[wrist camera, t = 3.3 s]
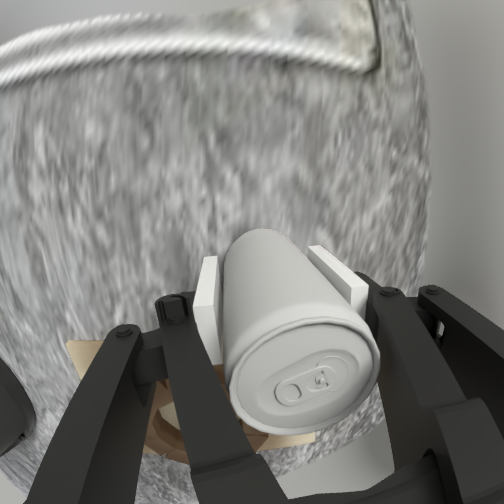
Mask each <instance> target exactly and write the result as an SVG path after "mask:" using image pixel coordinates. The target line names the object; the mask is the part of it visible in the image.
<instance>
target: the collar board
mask: <svg viewBox="0 0 504 504" xmlns="http://www.w3.org/2000/svg"><path fill="white" fill-rule="evenodd" d="M103 342H104V341H79V340H68V342H67V343H66V347H67V349H68V352H69V354H70V356H71V359H72V361H73V363H74V366H75V368H76V370H77V373H78V375H79V377H80V379H81V380H82V379H83V377H84V375H85V373H86V371H87V369H88V368H89V366H90V364H91V362H92V361H93V359H94V357H95V355H96V354H97V352H98V350H99V348H100V347H101V345H102V343H103ZM213 367H214V370H215V372H216V374H217V376H218V378H219V381H220V383H221V385H222V387H223V389H224V392H225V394H226V396H227V398H228V400H229V402H230V397H229V394H228V392H227V389H226V387H225V380H224V369H223V364H218V365H213ZM156 384H157V386H156V390H155V394H154V399H153V403H152V408H151V413H150V417H149V422H148V427H147V432H146V437H145V442H144V448H143V453H144V454H159V455H160V456H161V455H166V458H168V459H171V460H175V461H178V462H182V463H186V464H189V460H188V457H187V453H186V449H185V446H184V442H183V438H182V435H181V431H180V427H179V423H178V418H177V414H176V410H175V406H174V401H173V397H172V392H171V387H170V382H169V378H168V379H164V380H160V381H156ZM230 404H231V402H230ZM231 406H232V404H231ZM232 409H233V411H234V413H235V415H236V417H237V419H238V421H239V423H240V425H241V427H242V429H243V431H244V433H245V435H246V437H247V439H248V441H249V443H250V444H251V446H252V448H253V450H254V452H257V451H262V450H270V449H277V448H283V447H290V446H295V445H301V444H306V443H311V442H315V432H313V433H309V434H302V435H295V436H284V435H274V434H269V433H265V432H261V431H259V430H257V429H255V428H253V427H251V426H249V425H247V424H246V423H245V422H244V421H243V420H242V419H241V418H240V417H239V416H238V415H237V414H236V412H235V410H234V408H233V406H232ZM189 465H190V464H189Z"/></svg>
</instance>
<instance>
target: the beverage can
mask: <svg viewBox="0 0 504 504" xmlns="http://www.w3.org/2000/svg"><path fill="white" fill-rule="evenodd" d="M223 369H224V380H225V387H226V389H227V392H228V394H229V397H230V402H231V404H232V406H233V408H234V410H235V412H236V414H237V415H238V416H239V417H240V418H241V419H242V420H243V421H244V422H245V423H246V424H247V425H249V426H251V427H253V428H255V429H257V430H259V431H261V432H265V433H269V434H274V435H284V436H295V435H302V434H309V433H313V432H316V431H319V430H322V429H325V428H328V427H330V426H332V425H334V424H336V423H338V422H340V421H342V420H343V419H345V418H346V417H347V416H349V415H350V414H351V413H353V412H354V411H355V410H357V409H358V408H359V407H360V405H361V404H362V403H363V402H364V401H365V400H366V399H367V398H368V396H369V395H370V393H371V391H372V390H373V388H374V386H375V384H376V382H377V379H378V375H379V372H380V352H379V350H378V347H377V345H376V342H375V340H374V338H373V336H372V334H371V331H370V329H369V327H368V325H367V324H366V322H365V321H364V320H363V319H362V318H361V317H360V316H359V314H358V313H357V312H356V311H355V310H354V309H353V308H352V307H351V305H350V304H349V303H348V302H347V301H346V300H345V299H344V298H343V297H342V295H341V294H340V293H339V292H338V291H337V290H336V289H335V288H334V287H333V286H332V284H331V283H330V282H329V281H328V280H327V279H326V278H325V277H324V276H323V275H322V274H321V273H320V271H319V270H318V269H317V268H316V267H315V266H314V265H313V264H312V263H311V262H310V261H309V260H308V259H307V257H306V256H305V255H304V254H303V253H302V252H301V251H300V250H299V249H298V248H297V247H296V246H295V245H294V244H293V243H292V242H291V241H290V240H289V239H288V238H287V237H286V236H285V235H283V234H282V233H280V232H278V231H275V230H271V229H255V230H251V231H248V232H246V233H245V234H243V235H242V236H240V237H239V238H238V239H237V240H236V241H235V242H234V243H233V245H232V246H231V247H230V249H229V251H228V252H227V254H226V257H225V261H224V295H223Z"/></svg>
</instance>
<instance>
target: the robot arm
mask: <svg viewBox="0 0 504 504" xmlns="http://www.w3.org/2000/svg"><path fill="white" fill-rule="evenodd" d="M308 260H309V261H310V262H311V263H312V264H313V265H314V266H315V267H316V268H317V269H318V270H319V271H320V273H321V274H322V275H323V276H324V277H325V278H326V279H327V280H328V281H329V282H330V283H331V284H332V286H333V287H334V288H335V289H336V290H337V291H338V292H339V293H340V294H341V295H342V297H343V298H344V299H345V300H346V301H347V302H348V303H349V304H350V305H351V307H352V308H353V309H354V310H355V311H356V312H357V313H358V314H359V316H360V317H361V318H362V319H363V320H364V321H365V322H366V324H367V325H368V327H369V329H370V331H371V334H372V336H373V338H374V340H375V342H376V345H377V347H378V350H379V352H380V372H379V375H378V379H377V382H378V386H379V391H380V395H381V399H382V404H383V408H384V413H385V417H386V422H387V427H388V432H389V437H390V442H391V448H392V453H393V460H394V467H395V471H394V473H393V474H392V475H390V476H388V477H387V478H385V479H384V480H382V481H381V482H379V483H378V484H376V485H374V486H373V487H371V488H369V489H367V490H364V491H356V492H343V493H325V494H315V495H310V496H305V497H299V498H294V499H287V497H286V495H285V494H284V492H283V490H282V489H281V487H280V486H279V484H278V482H277V480H276V479H275V477H274V475H273V473H272V472H271V470H270V468H269V466H268V465H267V463H266V461H265V460H264V458H263V457H262V456H261V455H260V454H256V453H255V452H254V450H253V448H252V446H251V444H250V443H249V441H248V439H247V437H246V435H245V433H244V431H243V429H242V427H241V425H240V423H239V421H238V419H237V417H236V415H235V413H234V411H233V409H232V406H231V404H230V402H229V400H228V398H227V396H226V394H225V392H224V389H223V387H222V385H221V383H220V381H219V378H218V376H217V374H216V372H215V370H214V367H213V365H218V364H223V297H222V289H221V281H220V273H219V265H218V257H217V256H210V257H204V261H203V265H202V269H201V273H200V277H199V281H198V286H197V290H196V291H193V292H182V293H180V294H170V295H167V296H163V297H161V298H159V299H158V300H157V301H156V302H155V308H156V312H157V316H158V321H159V325H160V328H159V329H157V330H154V331H150V332H146V333H141V330H140V328H139V327H138V326H137V325H134V324H126V325H124V324H123V325H119V326H117V327H116V328H114V329H112V330H111V331H110V332H109V333H108V335H107V337H106V338H105V340H104V342H103V343H102V345H101V347H100V348H99V350H98V352H97V354H96V355H95V357H94V359H93V361H92V362H91V364H90V366H89V368H88V369H87V371H86V373H85V375H84V377H83V379H82V380H81V382H80V384H79V386H78V388H77V390H76V392H75V393H74V395H73V397H72V399H71V401H70V403H69V405H68V407H67V409H66V411H65V413H64V415H63V417H62V419H61V421H60V423H59V425H58V427H57V429H56V431H55V433H54V436H53V438H52V440H51V442H50V444H49V446H48V449H47V451H46V453H45V455H44V458H43V460H42V462H41V465H40V467H39V469H38V472H37V474H36V477H35V479H34V482H33V484H32V487H31V489H30V492H29V495H28V497H27V500H26V501H25V502H24V503H23V504H134V502H135V495H136V488H137V482H138V476H139V470H140V464H141V459H142V453H143V448H144V442H145V437H146V432H147V427H148V422H149V417H150V413H151V408H152V403H153V399H154V394H155V390H156V386H157V384H156V381H160V380H164V379H168V378H169V382H170V387H171V392H172V397H173V401H174V406H175V410H176V414H177V418H178V423H179V427H180V431H181V435H182V438H183V442H184V446H185V449H186V453H187V457H188V460H189V464H190V467H191V472H190V474H191V479H192V482H193V486H194V489H195V492H196V495H197V498H198V501H199V504H504V330H502V329H501V328H500V327H498V326H497V325H495V324H494V323H493V322H491V321H490V320H489V319H487V318H486V317H484V316H483V315H481V314H480V313H478V312H477V311H476V310H474V309H473V308H471V307H470V306H468V305H467V304H465V303H464V302H462V301H461V300H459V299H458V298H456V297H455V296H454V295H452V294H450V293H449V292H447V291H446V290H444V289H443V288H440V287H437V286H436V285H428V286H423V287H420V288H419V292H418V297H406V296H405V295H404V294H403V292H402V291H401V290H399V289H397V288H393V287H381V286H379V285H378V284H377V283H376V282H374V281H373V280H372V279H370V278H369V277H368V276H367V275H365V274H363V273H360V272H352V271H351V270H350V269H349V268H347V267H346V266H345V265H344V264H342V263H341V262H340V261H339V260H338V259H336V258H335V257H334V256H333V255H331V254H330V253H329V252H328V251H326V250H325V249H324V248H323V247H321V246H320V245H317V246H308ZM441 322H442V323H443V324H444V332H443V335H442V336H441V335H440V334H438V333H439V329H440V324H441ZM35 422H36V417H35V412H34V409H33V406H32V404H31V402H30V400H29V398H28V396H27V394H26V393H25V391H24V389H23V388H22V386H21V385H20V383H19V382H18V380H17V379H16V377H15V376H14V375H13V373H12V372H11V371H10V369H9V368H8V367H7V366H6V364H5V363H4V362H3V361H2V360H1V359H0V457H1V456H3V455H4V454H6V453H7V452H8V451H10V450H11V449H13V448H14V447H15V446H17V445H18V444H19V443H20V442H22V441H24V440H25V439H26V438H27V437H28V436H29V434H30V433H31V431H32V429H33V427H34V426H35Z"/></svg>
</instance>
